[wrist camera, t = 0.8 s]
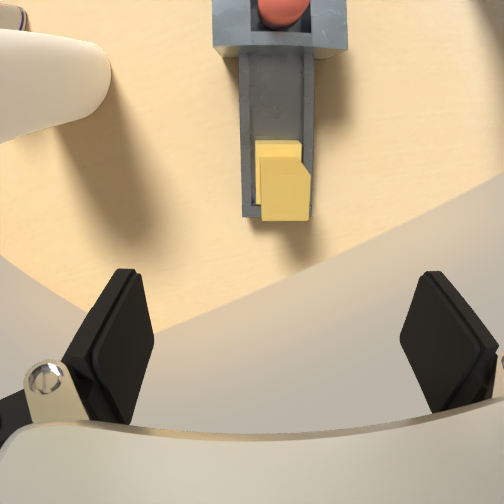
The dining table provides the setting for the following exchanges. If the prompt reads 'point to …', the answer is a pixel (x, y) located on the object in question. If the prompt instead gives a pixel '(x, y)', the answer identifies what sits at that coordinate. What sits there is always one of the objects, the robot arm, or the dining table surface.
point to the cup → (48, 81)
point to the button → (281, 12)
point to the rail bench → (276, 76)
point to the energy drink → (12, 17)
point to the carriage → (281, 181)
